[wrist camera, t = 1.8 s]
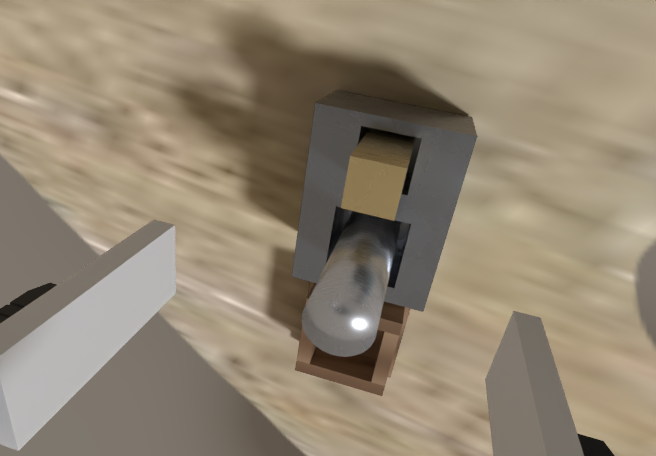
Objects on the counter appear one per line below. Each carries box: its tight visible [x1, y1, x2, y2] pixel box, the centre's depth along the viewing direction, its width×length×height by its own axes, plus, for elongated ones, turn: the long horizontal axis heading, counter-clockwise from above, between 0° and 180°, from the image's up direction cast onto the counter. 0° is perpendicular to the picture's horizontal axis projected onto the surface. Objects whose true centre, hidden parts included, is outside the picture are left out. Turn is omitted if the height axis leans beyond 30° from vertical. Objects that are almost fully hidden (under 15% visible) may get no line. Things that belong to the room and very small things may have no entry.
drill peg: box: [302, 211, 401, 357], centre depth 29 cm, size 4×4×14 cm
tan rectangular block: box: [341, 128, 415, 221], centre depth 27 cm, size 3×3×7 cm
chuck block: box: [292, 90, 477, 312], centre depth 33 cm, size 13×10×6 cm
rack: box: [295, 282, 410, 396], centre depth 40 cm, size 9×9×4 cm
